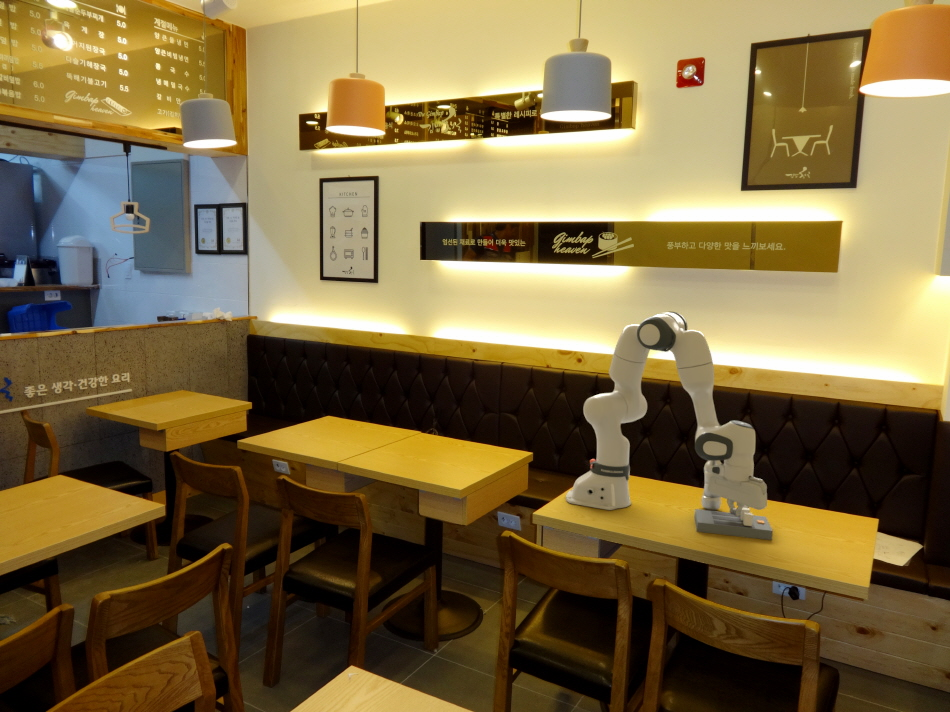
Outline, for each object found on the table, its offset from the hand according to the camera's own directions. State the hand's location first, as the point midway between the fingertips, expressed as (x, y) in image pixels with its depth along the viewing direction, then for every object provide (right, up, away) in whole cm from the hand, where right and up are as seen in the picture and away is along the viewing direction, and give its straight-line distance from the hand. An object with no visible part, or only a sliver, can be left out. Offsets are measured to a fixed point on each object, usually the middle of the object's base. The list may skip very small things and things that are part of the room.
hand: (734, 514), depth 222 cm
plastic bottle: (-1, -3, +19) cm, 19 cm away
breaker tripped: (+3, -2, 0) cm, 3 cm away
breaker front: (+2, -2, -5) cm, 6 cm away
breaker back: (+4, -1, +4) cm, 6 cm away
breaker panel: (-1, -5, +1) cm, 5 cm away
